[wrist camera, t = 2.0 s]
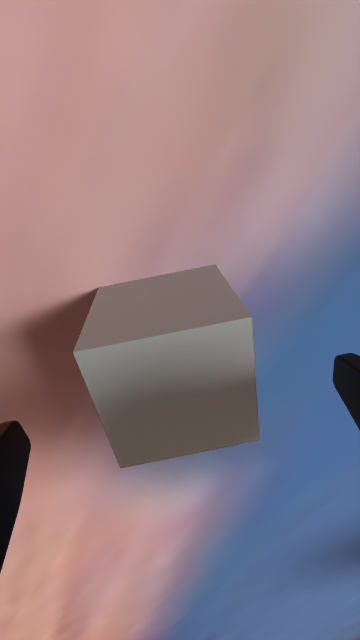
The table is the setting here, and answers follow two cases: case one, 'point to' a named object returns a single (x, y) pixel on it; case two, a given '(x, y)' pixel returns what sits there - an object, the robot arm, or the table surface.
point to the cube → (170, 366)
